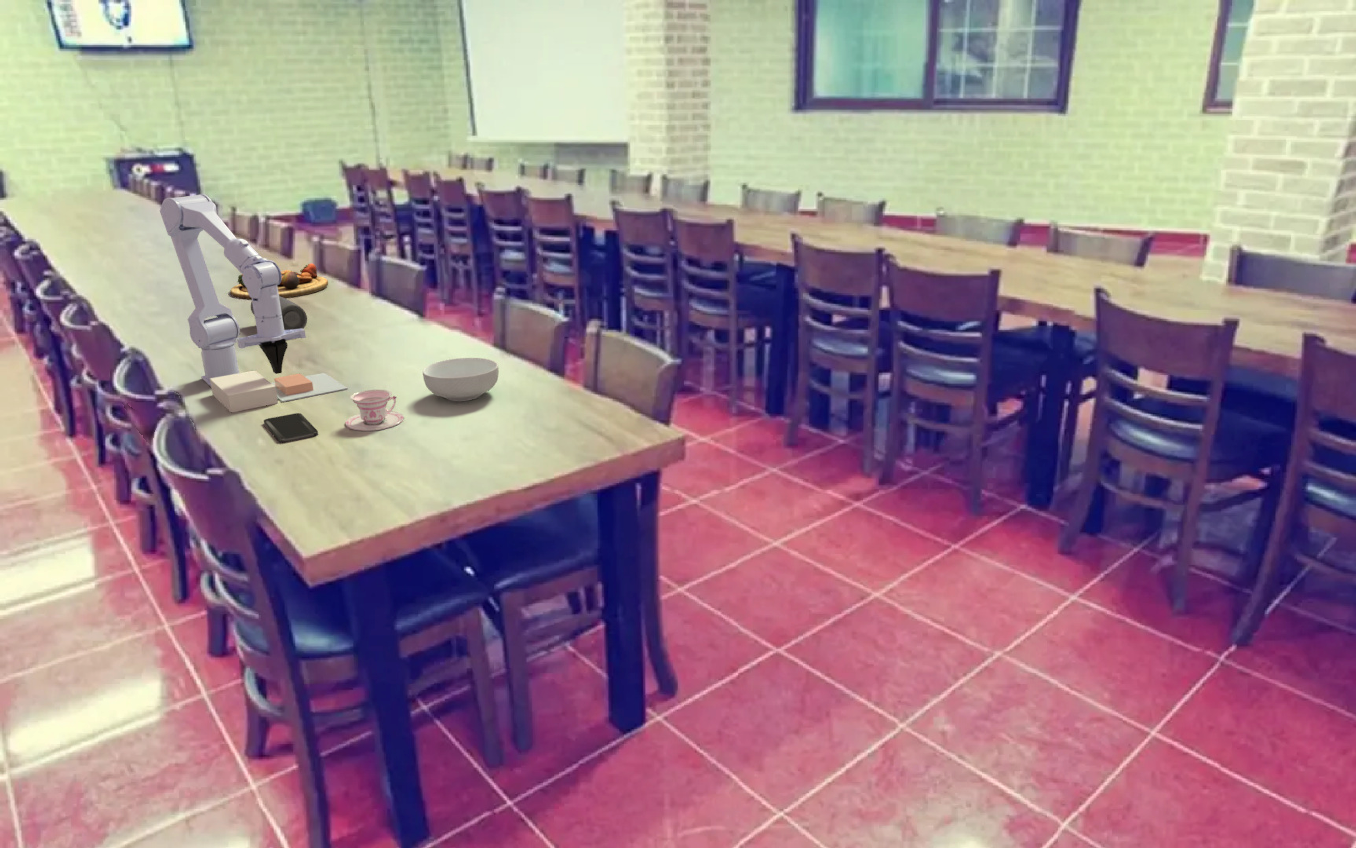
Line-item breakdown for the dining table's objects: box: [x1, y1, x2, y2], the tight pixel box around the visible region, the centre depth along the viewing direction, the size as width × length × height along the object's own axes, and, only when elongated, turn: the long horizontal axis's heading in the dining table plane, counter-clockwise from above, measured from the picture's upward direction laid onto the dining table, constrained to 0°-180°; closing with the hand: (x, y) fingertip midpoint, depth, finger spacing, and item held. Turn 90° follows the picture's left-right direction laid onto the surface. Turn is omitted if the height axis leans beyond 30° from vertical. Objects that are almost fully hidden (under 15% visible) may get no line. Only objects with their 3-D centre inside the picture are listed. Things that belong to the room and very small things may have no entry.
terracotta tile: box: [273, 373, 313, 395], centre depth 220 cm, size 9×6×2 cm, turn 39°
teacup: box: [344, 389, 405, 432], centre depth 199 cm, size 12×12×6 cm
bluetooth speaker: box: [250, 296, 308, 330], centre depth 272 cm, size 23×9×10 cm, turn 42°
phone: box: [263, 412, 319, 444], centre depth 196 cm, size 8×1×15 cm
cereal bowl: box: [422, 357, 499, 402], centre depth 214 cm, size 17×17×7 cm
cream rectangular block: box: [210, 370, 279, 413], centre depth 214 cm, size 16×10×4 cm, turn 38°
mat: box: [271, 372, 349, 403], centre depth 222 cm, size 16×15×1 cm
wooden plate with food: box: [230, 263, 329, 300], centre depth 326 cm, size 32×32×8 cm
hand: (277, 372), depth 217 cm, fingers closed
